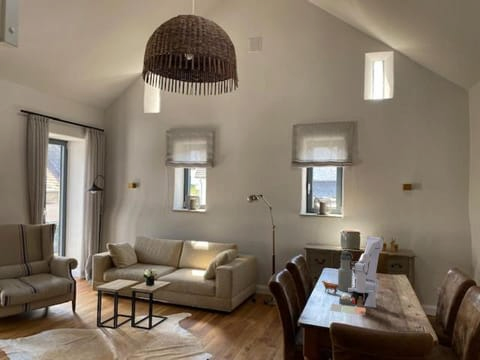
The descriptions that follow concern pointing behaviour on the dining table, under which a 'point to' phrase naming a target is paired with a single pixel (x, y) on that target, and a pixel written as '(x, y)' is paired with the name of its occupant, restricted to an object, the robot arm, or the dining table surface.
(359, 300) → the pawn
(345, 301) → the grey open box
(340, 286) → the water bottle
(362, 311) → the game board
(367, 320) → the dining table surface
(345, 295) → the dome
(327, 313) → the dining table surface
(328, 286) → the bull figurine
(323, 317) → the dining table surface
